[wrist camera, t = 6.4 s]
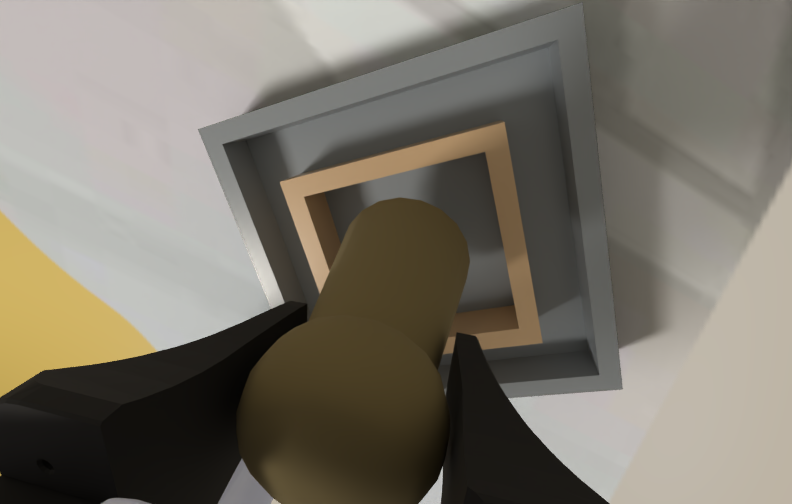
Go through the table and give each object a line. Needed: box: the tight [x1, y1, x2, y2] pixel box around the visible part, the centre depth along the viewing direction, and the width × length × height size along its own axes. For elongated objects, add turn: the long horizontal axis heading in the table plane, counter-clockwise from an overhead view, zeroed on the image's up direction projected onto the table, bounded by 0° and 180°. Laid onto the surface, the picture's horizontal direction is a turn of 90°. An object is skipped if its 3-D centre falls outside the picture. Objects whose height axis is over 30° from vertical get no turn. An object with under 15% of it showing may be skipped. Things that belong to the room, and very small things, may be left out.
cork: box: [236, 197, 470, 504], centre depth 13 cm, size 6×6×11 cm
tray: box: [198, 2, 623, 398], centre depth 21 cm, size 18×18×3 cm
